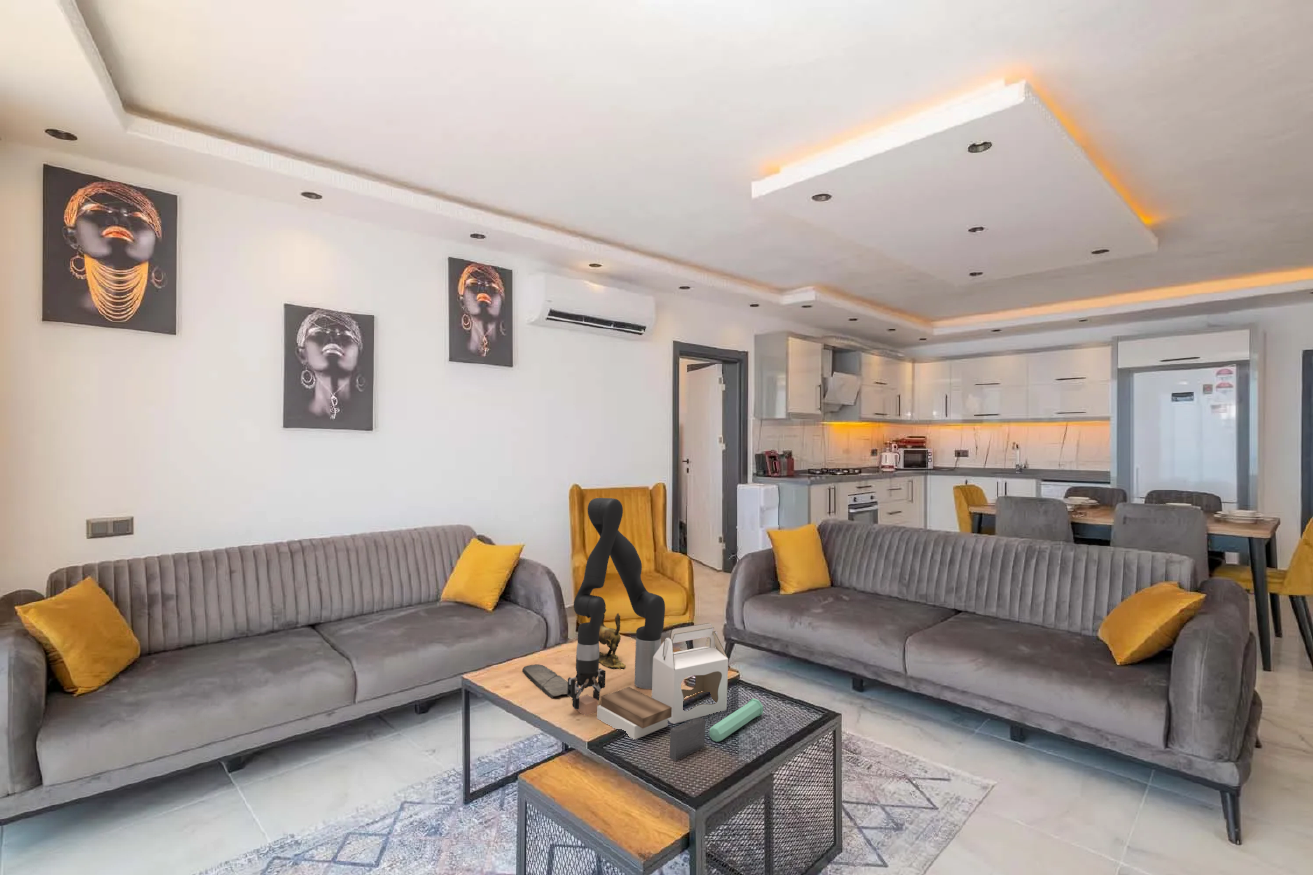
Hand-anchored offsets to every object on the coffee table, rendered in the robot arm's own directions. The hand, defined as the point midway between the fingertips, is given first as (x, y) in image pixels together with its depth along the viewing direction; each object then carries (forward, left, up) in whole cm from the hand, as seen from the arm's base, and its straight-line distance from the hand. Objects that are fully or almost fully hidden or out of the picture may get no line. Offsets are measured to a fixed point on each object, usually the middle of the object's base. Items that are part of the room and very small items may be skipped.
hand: (585, 705), depth 206 cm
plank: (-6, +18, +2) cm, 19 cm away
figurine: (-33, -32, -2) cm, 46 cm away
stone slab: (-3, -27, -2) cm, 27 cm away
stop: (-6, +40, -2) cm, 41 cm away
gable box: (-27, +21, -2) cm, 34 cm away
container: (-29, +40, -2) cm, 49 cm away
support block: (0, 0, -2) cm, 2 cm away
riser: (-6, +16, -2) cm, 17 cm away
